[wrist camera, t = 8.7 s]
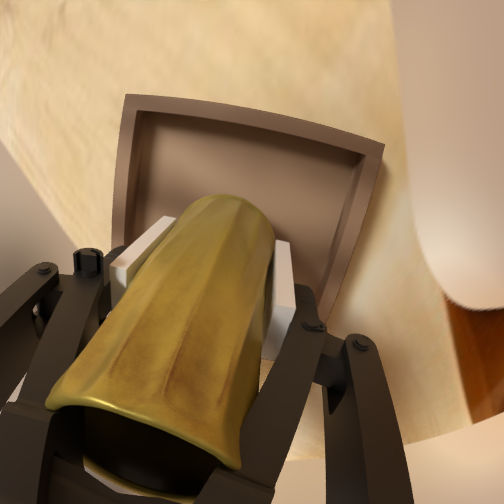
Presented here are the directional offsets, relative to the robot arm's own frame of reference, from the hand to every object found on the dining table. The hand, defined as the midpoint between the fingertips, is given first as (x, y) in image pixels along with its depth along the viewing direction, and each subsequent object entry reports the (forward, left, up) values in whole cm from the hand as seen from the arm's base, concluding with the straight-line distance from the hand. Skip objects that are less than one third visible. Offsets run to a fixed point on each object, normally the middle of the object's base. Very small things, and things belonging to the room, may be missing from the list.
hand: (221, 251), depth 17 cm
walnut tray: (0, 0, -5) cm, 5 cm away
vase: (0, 0, -2) cm, 2 cm away
